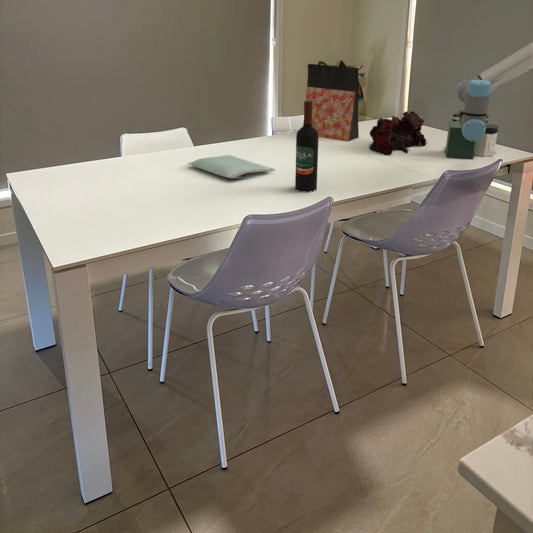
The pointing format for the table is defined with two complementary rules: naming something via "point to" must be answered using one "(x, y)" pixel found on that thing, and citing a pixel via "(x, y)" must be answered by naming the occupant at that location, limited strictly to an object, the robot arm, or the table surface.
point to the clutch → (228, 166)
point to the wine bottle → (306, 153)
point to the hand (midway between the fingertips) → (468, 110)
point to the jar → (487, 142)
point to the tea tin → (459, 145)
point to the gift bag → (334, 100)
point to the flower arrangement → (397, 134)
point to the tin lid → (455, 125)
